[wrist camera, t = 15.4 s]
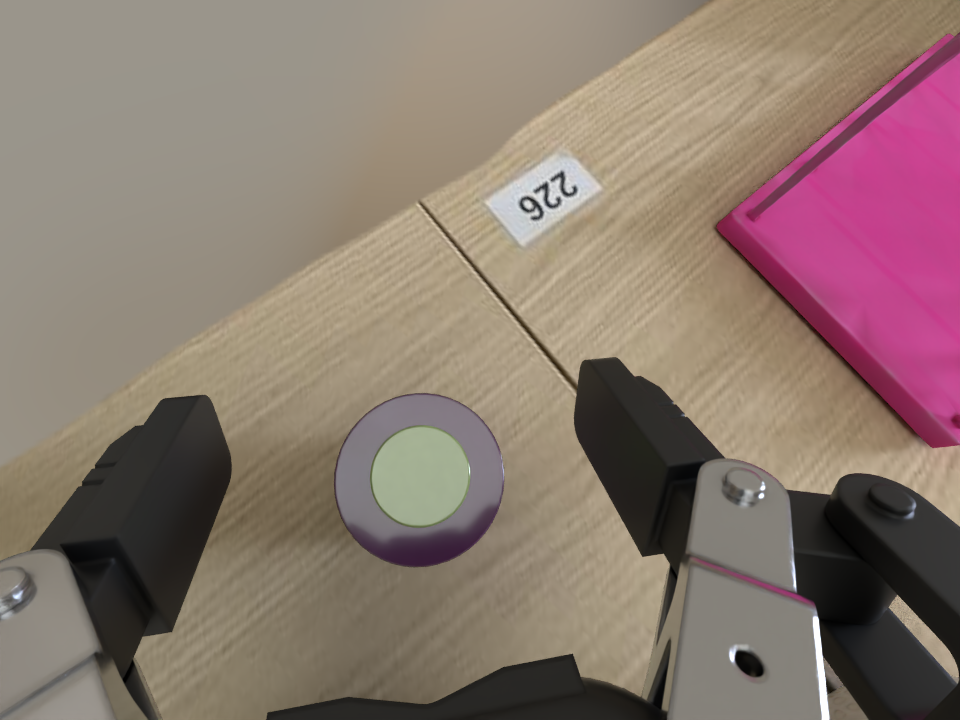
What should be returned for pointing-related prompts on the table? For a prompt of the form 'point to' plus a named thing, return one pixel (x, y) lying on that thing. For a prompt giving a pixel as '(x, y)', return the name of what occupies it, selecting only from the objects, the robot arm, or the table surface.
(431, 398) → the purple bottle
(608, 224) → the table surface
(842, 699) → the planter
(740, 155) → the table surface
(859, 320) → the file sorter
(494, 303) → the table surface
